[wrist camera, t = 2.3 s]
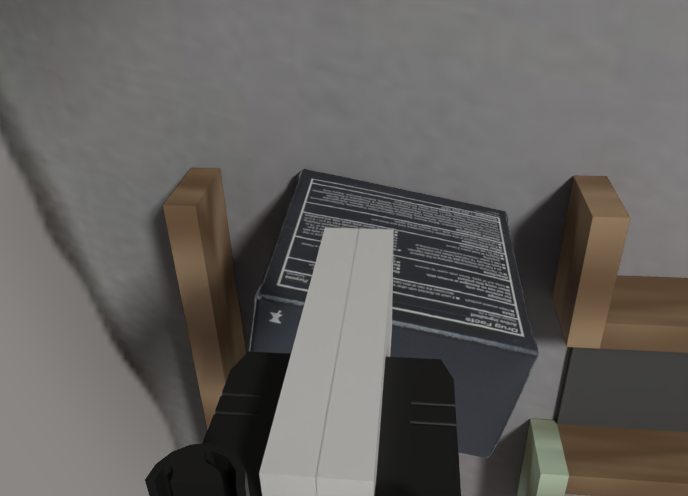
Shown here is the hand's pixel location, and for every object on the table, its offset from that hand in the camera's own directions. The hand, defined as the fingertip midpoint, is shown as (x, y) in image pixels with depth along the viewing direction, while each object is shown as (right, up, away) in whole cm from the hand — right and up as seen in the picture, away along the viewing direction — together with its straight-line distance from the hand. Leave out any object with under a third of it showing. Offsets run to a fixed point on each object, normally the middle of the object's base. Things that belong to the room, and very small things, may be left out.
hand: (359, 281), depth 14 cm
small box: (+2, +1, +19) cm, 19 cm away
